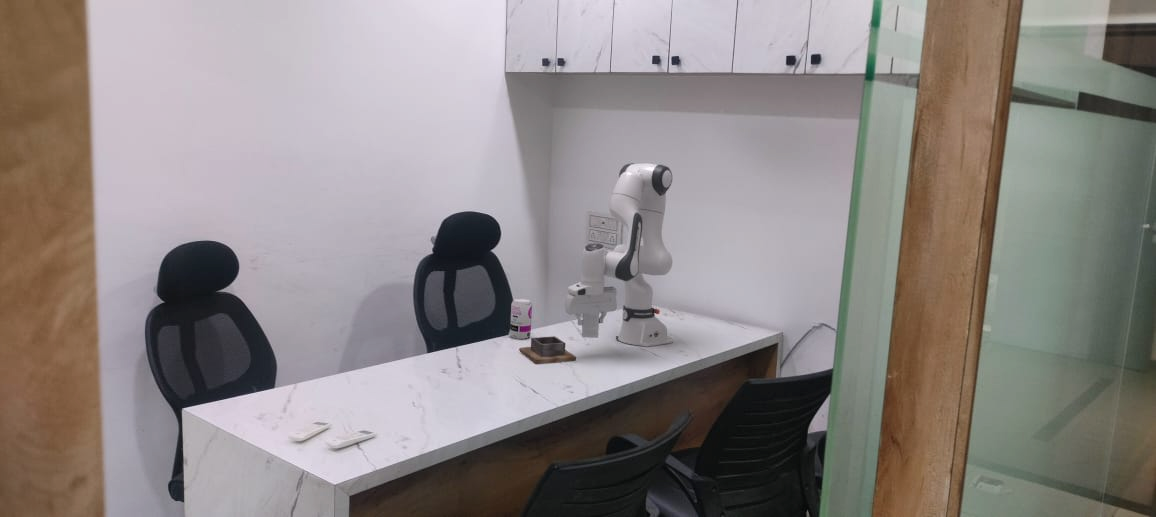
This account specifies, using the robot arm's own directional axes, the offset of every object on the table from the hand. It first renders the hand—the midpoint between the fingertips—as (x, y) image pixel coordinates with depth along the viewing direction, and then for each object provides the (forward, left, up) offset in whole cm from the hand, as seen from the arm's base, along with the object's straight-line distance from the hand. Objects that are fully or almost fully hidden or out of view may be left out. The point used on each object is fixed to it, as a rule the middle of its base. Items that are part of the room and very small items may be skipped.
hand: (590, 323), depth 295 cm
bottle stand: (+16, -3, -12) cm, 20 cm away
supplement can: (+16, -30, -12) cm, 36 cm away
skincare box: (0, 0, -5) cm, 5 cm away
